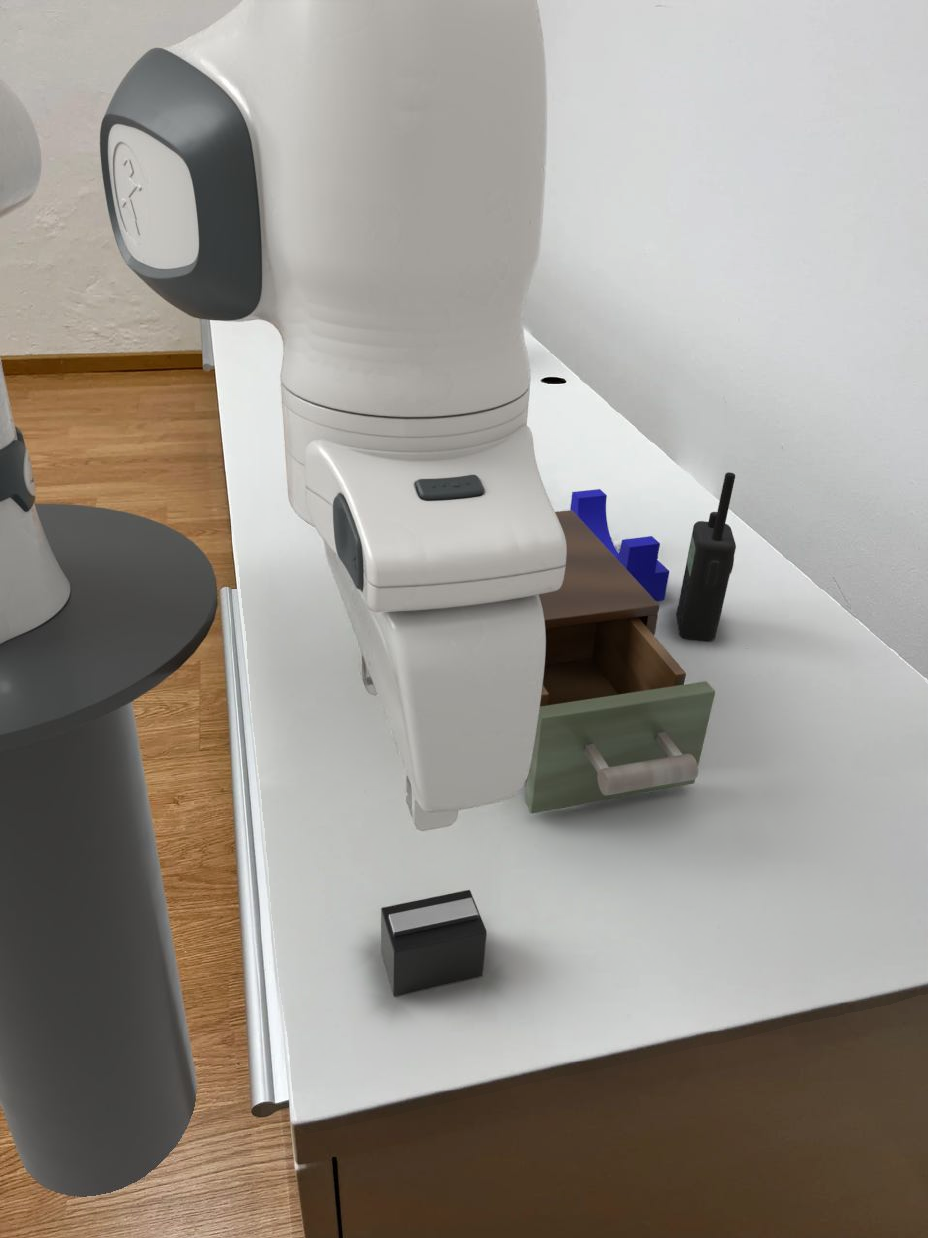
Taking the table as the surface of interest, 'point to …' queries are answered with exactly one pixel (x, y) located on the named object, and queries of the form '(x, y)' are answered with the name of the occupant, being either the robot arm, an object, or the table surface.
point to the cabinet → (594, 584)
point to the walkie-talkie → (707, 572)
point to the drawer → (613, 717)
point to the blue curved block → (623, 543)
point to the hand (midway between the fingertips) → (404, 745)
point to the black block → (432, 942)
